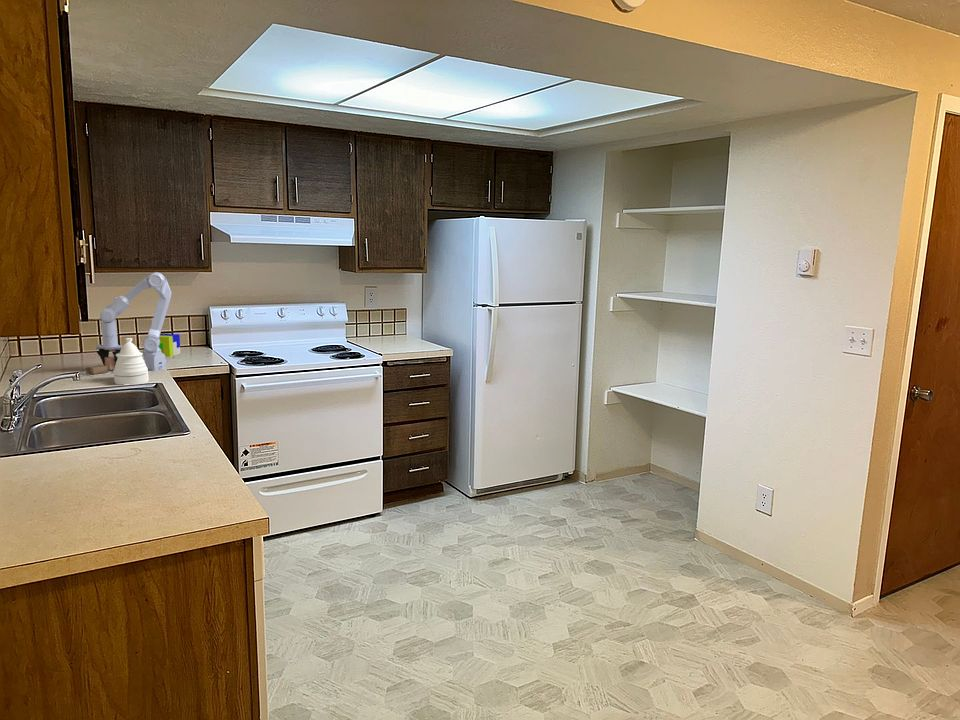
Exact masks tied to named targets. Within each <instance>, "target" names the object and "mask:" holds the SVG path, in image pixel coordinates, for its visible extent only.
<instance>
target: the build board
mask: <svg viewBox="0 0 960 720" xmlns="http://www.w3.org/2000/svg"><path fill="white" fill-rule="evenodd" d="M107 370H108V373H105V374H99V375H90V374H86V371H81V372H79V373H80V374H79V375H83V376H87V377H91V378H93V377H94V378H95V377H98V376H99V377H100V376H105V375H112V374H114V372H113V371H114V369H112V370H110V369H107Z"/></svg>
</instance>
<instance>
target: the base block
mask: <svg viewBox="0 0 960 720" xmlns="http://www.w3.org/2000/svg"><path fill="white" fill-rule="evenodd" d="M85 372H86V374H90V375H99V374H105V373H108V370H107V366H104V365H103V364H96V365H94V364H93V365H87V366H85Z"/></svg>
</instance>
